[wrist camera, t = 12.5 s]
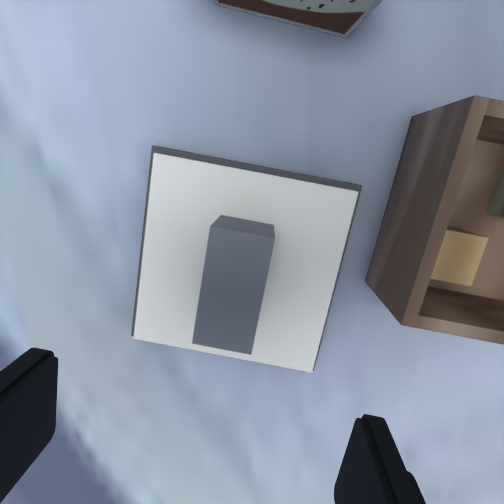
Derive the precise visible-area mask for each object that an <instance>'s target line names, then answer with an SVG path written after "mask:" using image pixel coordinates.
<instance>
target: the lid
mask: <svg viewBox="0 0 504 504" xmlns="http://www.w3.org/2000/svg"><path fill="white" fill-rule="evenodd" d="M357 196H358V192H357V191H354V190H349V189H343V188H338V187H333V186H327V185H322V184H317V183H312V182H306V181H301V180H296V179H291V178H285V177H280V176H275V175H270V174H264V173H259V172H254V171H249V170H243V169H238V168H233V167H227V166H222V165H217V164H212V163H206V162H201V161H196V160H191V159H185V158H180V157H175V156H170V155H164V154H159V153H154V155H153V164H152V173H151V182H150V191H149V201H148V210H147V219H146V228H145V237H144V246H143V256H142V265H141V274H140V283H139V292H138V301H137V311H136V320H135V329H134V338H133V339H138V340H143V341H148V342H154V343H159V344H164V345H169V346H175V347H180V348H185V349H190V350H196V351H201V352H206V353H211V354H217V355H222V356H227V357H232V358H238V359H243V360H248V361H253V362H259V363H264V364H269V365H274V366H280V367H285V368H290V369H295V370H301V371H306V372H311V373H312V371H313V367H314V363H315V359H316V355H317V351H318V347H319V344H320V340H321V336H322V332H323V328H324V324H325V320H326V316H327V312H328V309H329V305H330V301H331V297H332V293H333V289H334V285H335V281H336V278H337V274H338V270H339V266H340V262H341V258H342V254H343V250H344V246H345V243H346V239H347V235H348V231H349V227H350V223H351V219H352V215H353V212H354V208H355V204H356V200H357Z"/></svg>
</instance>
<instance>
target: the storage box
mask: <svg viewBox="0 0 504 504" xmlns="http://www.w3.org/2000/svg"><path fill="white" fill-rule="evenodd" d="M503 166H504V101H501V100H495V99H490V98H485V97H480V96H472V97H469V98H466V99H463V100H460V101H457V102H454V103H451V104H448V105H445V106H442V107H439V108H436V109H433V110H430V111H427V112H424V113H421V114H418V115H415V116H412V119H411V122H410V126H409V129H408V133H407V136H406V140H405V143H404V147H403V150H402V154H401V158H400V161H399V165H398V168H397V172H396V175H395V179H394V182H393V186H392V189H391V193H390V196H389V200H388V204H387V207H386V211H385V214H384V218H383V221H382V225H381V228H380V232H379V235H378V239H377V242H376V246H375V250H374V253H373V257H372V260H371V264H370V267H369V271H368V274H367V278H366V281H365V282H366V283H367V284H368V285H369V287H370V288H371V289H372V290H373V291H374V293H375V294H376V295H377V296H378V298H379V299H380V300H381V301H382V302H383V304H384V305H385V306H386V307H387V308H388V310H389V311H390V312H391V313H392V314H393V316H394V317H395V318H396V319H397V320H398V322H399V323H400V324H401V325H405V326H410V327H415V328H420V329H426V330H431V331H436V332H441V333H446V334H452V335H457V336H462V337H467V338H472V339H478V340H483V341H488V342H493V343H498V344H504V217H502V216H497V215H493V214H488V213H487V211H488V208H489V206H490V203H491V200H492V197H493V194H494V192H495V189H496V186H497V183H498V180H499V178H500V175H501V172H502V169H503ZM448 226H450V227H455V228H460V229H463V230H466V231H469V232H472V233H475V234H478V235H482V236H485V237H488V241H487V244H486V247H485V249H484V252H483V255H482V258H481V260H480V263H479V266H478V269H477V271H476V274H475V277H474V280H473V282H472V285H471V286H467V285H462V284H456V283H451V282H446V281H441V280H436V279H430V278H431V275H432V272H433V269H434V266H435V263H436V260H437V257H438V254H439V251H440V248H441V245H442V242H443V239H444V236H445V233H446V230H447V227H448Z"/></svg>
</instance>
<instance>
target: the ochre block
mask: <svg viewBox="0 0 504 504" xmlns="http://www.w3.org/2000/svg"><path fill="white" fill-rule="evenodd" d="M487 241H488V237H485V236H482V235H478V234H475V233H472V232H469V231H466V230H463V229H460V228H455V227H450V226H448V227H447V230H446V233H445V236H444V239H443V242H442V245H441V248H440V251H439V254H438V257H437V260H436V263H435V266H434V269H433V272H432V275H431V278H430V279H436V280H441V281H446V282H451V283H456V284H462V285H467V286H471V285H472V282H473V280H474V277H475V274H476V271H477V269H478V266H479V263H480V260H481V258H482V255H483V252H484V249H485V247H486V244H487Z"/></svg>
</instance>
